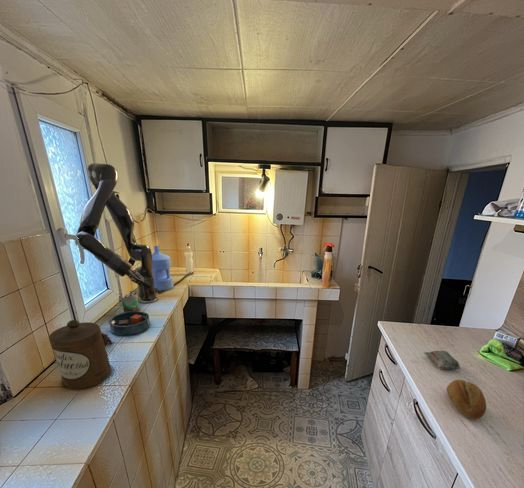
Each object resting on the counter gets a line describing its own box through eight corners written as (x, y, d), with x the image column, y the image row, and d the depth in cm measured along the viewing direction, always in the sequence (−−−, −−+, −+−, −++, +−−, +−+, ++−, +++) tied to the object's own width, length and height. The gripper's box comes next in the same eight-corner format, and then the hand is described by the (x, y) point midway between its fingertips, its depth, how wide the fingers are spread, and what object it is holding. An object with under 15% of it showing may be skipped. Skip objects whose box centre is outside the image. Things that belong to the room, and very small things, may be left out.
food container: (135, 316, 149) (131, 298, 145) (123, 315, 149) (120, 298, 145) (144, 307, 160) (141, 290, 156) (133, 307, 160) (130, 290, 156)
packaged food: (436, 372, 108) (440, 361, 106) (421, 356, 119) (425, 346, 117) (459, 373, 108) (463, 363, 106) (442, 357, 119) (446, 347, 117)
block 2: (137, 321, 141) (135, 314, 140) (143, 322, 140) (142, 315, 138) (131, 324, 138) (129, 317, 136) (138, 326, 137) (136, 318, 135)
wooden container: (53, 384, 96) (33, 327, 87) (88, 361, 109) (73, 309, 100) (88, 393, 93) (71, 334, 84) (120, 368, 106) (108, 315, 97)
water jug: (144, 290, 187) (137, 247, 176) (159, 283, 201) (153, 243, 189) (164, 292, 183) (159, 249, 172) (178, 285, 197) (173, 245, 185)
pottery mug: (119, 344, 123) (113, 334, 116) (104, 362, 118) (96, 352, 111) (96, 333, 125) (89, 323, 118) (80, 350, 119) (71, 341, 113)
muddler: (144, 298, 146) (141, 278, 142) (152, 298, 146) (149, 278, 142) (142, 301, 143) (138, 280, 138) (150, 301, 143) (146, 280, 138)
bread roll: (454, 419, 86) (463, 399, 83) (437, 389, 99) (444, 370, 96) (489, 425, 84) (500, 404, 81) (468, 393, 98) (475, 374, 94)
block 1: (120, 327, 135) (119, 320, 133) (130, 327, 136) (128, 319, 134) (119, 331, 131) (118, 323, 129) (128, 330, 132) (127, 323, 131)
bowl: (120, 320, 144) (118, 311, 142) (155, 320, 145) (153, 311, 143) (103, 336, 128) (101, 326, 126) (142, 336, 129) (141, 326, 127)
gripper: (123, 262, 127) (155, 285, 136) (124, 255, 139) (154, 277, 148) (112, 274, 127) (145, 296, 137) (114, 267, 139) (144, 288, 148)
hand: (149, 286), depth 142 cm, fingers closed on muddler, 2 cm apart
